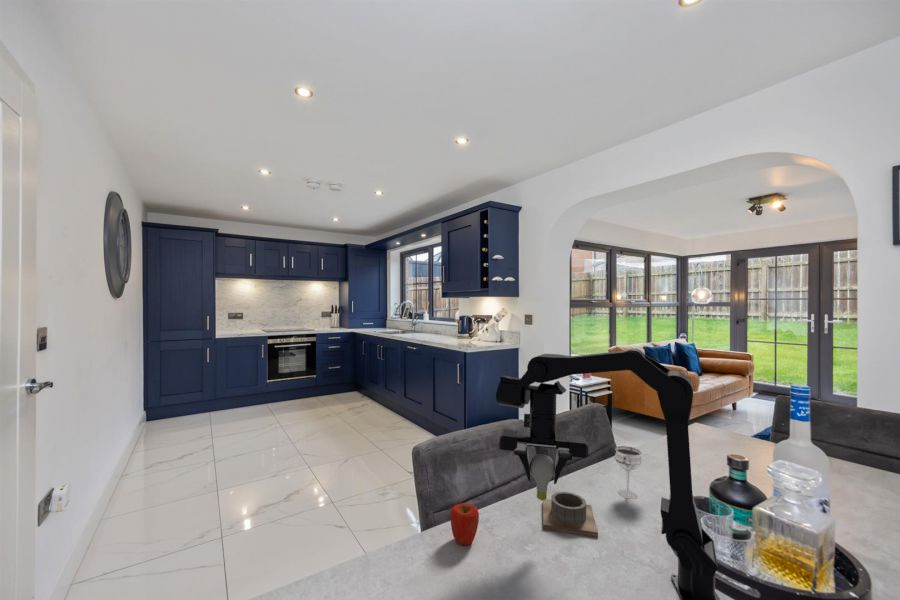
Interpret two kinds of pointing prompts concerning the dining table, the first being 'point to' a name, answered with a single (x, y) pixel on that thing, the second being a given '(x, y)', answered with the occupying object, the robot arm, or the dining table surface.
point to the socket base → (569, 514)
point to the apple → (464, 523)
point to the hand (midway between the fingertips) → (542, 481)
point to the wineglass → (628, 465)
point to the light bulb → (542, 473)
